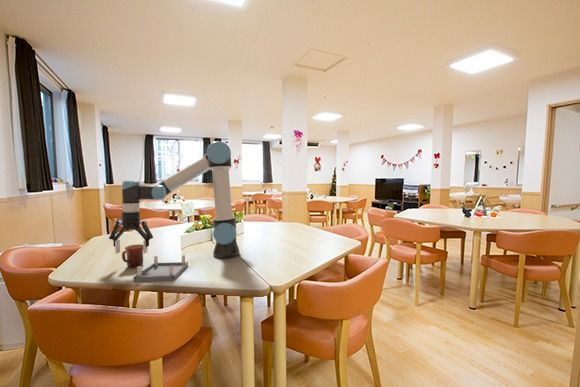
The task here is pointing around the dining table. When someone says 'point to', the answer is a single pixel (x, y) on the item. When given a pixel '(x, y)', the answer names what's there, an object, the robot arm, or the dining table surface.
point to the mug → (133, 255)
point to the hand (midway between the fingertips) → (131, 252)
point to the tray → (161, 271)
